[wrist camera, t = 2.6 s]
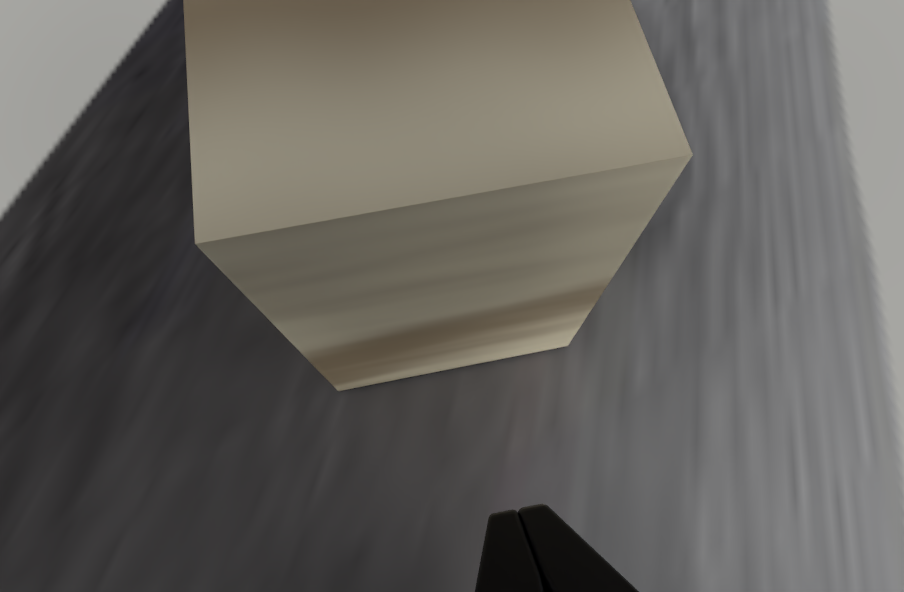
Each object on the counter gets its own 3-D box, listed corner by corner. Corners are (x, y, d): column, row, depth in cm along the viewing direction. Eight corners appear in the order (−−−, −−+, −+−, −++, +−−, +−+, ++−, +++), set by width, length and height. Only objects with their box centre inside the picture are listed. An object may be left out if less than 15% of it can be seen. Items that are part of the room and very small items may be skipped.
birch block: (567, 345, 18) (692, 154, 8) (338, 391, 17) (195, 243, 8) (528, 203, 19) (594, -89, 10) (318, 241, 19) (182, -27, 10)
